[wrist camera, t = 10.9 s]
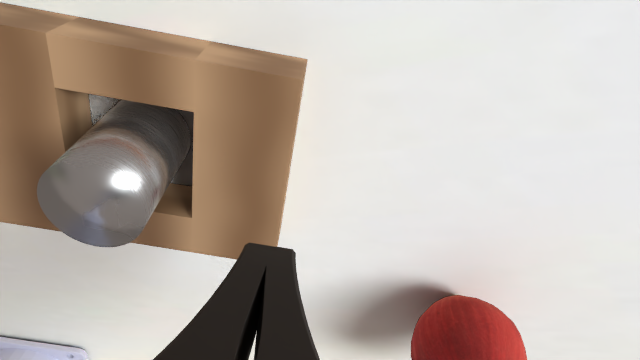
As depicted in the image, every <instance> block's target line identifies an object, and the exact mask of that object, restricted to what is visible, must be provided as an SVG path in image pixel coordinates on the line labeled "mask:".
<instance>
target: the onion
mask: <svg viewBox="0 0 640 360" xmlns="http://www.w3.org/2000/svg"><path fill="white" fill-rule="evenodd" d="M411 358H412V360H527V356H526V351H525V347H524V344H523V341H522V338H521V335H520V333H519V331H518V330H517V328H516V326H515V324H514V323H513V322H512V321H511V320H510V319H509V318H508V317H507V316H506V315H505V314H504V313H503V312H502V311H500V310H499V309H498V308H496V307H495V306H493V305H492V304H489V303H487V302H485V301H482V300H480V299H477V298H472V297H466V296H461V295H455V296H448V297H444V298H442V299H440V300H438V301H436V302H434V303H433V304H432V305H431V306H430V307H429V308H428V309H427V310H426V311H425V312H424V313H423V315H422V316H421V317H420V318H419V320H418V322H417V324H416V326H415V329H414V333H413V337H412V340H411Z"/></svg>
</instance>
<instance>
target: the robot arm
mask: <svg viewBox="0 0 640 360" xmlns="http://www.w3.org/2000/svg"><path fill="white" fill-rule="evenodd" d="M295 256H296V253H295V252H294V251H293V249H287V248H281V247H274V246H268V245H262V244H256V243H250V242H249V243H247V244H246V245H245V246H244V248H243V250H242V252H241V254H240V256H239V258H238V259H237V261H236V263H235V264H234V266H233V267H232V269H231V270H230V272H229V273H228V275H227V276H226V278H225V279H224V280H223V282H222V283H221V285H220V286H219V287H218V289H217V290H216V291H215V293H214V294H213V295H212V297H211V298H210V299H209V300H208V302H207V303H206V304H205V305H204V306H203V308H202V309H201V310H200V311H199V312H198V313H197V315H196V316H195V317H194V318H193V319H192V321H191V322H190V323H189V324H188V325H187V326H186V327H185V328H184V329H183V330H182V331H181V332H180V334H179V335H178V336H177V337H176V338H175V339H174V340H173V341H172V342H171V343H170V344H169V345H168V346H167V347H166V348H165V349H164V350H163V351H162V352H161V353H159V354H158V355H157V356H156V357H155V358H154V359H153V360H248V359H249V355H250V352H251V349H252V345H253V342H254V338H255V335H256V345H255V355H254V360H320V359H319V356H318V353H317V351H316V348H315V345H314V342H313V339H312V336H311V333H310V330H309V327H308V323H307V320H306V316H305V312H304V308H303V304H302V300H301V296H300V291H299V286H298V280H297V273H296V261H295ZM256 331H257V334H256ZM0 360H88V357H87V353H86V351H85V350H83V349H80V348H75V347H68V346H61V345H54V344H47V343H40V342H33V341H26V340H19V339H12V338H5V337H0Z"/></svg>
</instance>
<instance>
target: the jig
mask: <svg viewBox="0 0 640 360" xmlns="http://www.w3.org/2000/svg"><path fill="white" fill-rule="evenodd" d="M306 66H307V59H302V58H297V57H292V56H286V55H281V54H275V53H270V52H265V51H259V50H254V49H248V48H243V47H238V46H232V45H227V44H221V43H216V42H211V41H205V40H200V39H194V38H189V37H184V36H178V35H173V34H167V33H162V32H157V31H151V30H146V29H141V28H135V27H130V26H124V25H119V24H114V23H108V22H103V21H97V20H92V19H87V18H81V17H76V16H70V15H65V14H60V13H54V12H49V11H43V10H38V9H33V8H27V7H22V6H16V5H11V4H6V3H0V222H5V223H11V224H17V225H24V226H30V227H36V228H43V229H49V230H55V231H61V230H59V229H58V228H57V227H56V226H55V225H54V224H52V223H51V221H50V220H49V219H48V218H47V217H46V215H45V214H44V212H43V210H42V209H41V207H40V204H39V201H38V197H37V185H38V182H39V179H40V177H41V176H42V174H43V173H44V172H45V171H46V170H47V169H48V168H49V167H50V166H51V165H52V164H53V163H54V162H55V161H56V160H58V159H59V158H60V157H61V156H62V155H63V154H64V153H65V152H66V151H67V150H68V149H69V148H70V147H71V146H72V145H73V144H74V143H76V142H77V141H78V140H79V139H80V138H81V137H82V136H83V135H84V134H85V133H86V132H87V131H88V130H89V129H90V128H91V127H92V120H91V112H90V104H89V96H88V94H94V95H99V96H105V97H111V98H117V99H122V100H128V101H134V102H139V103H145V104H151V105H156V106H162V107H168V108H173V109H179V110H185V111H190V112H194V127H193V183H192V187H191V186H185V185H179V184H173V183H170V184H169V186H168V188H167V189H166V191H165V193H164V195H163V196H162V198H161V200H160V201H159V203H158V205H157V207H156V208H155V210H154V212H153V213H152V215H151V217H150V218H149V220H148V222H147V224H146V225H145V227H144V229H143V230H142V232H141V233H140V235H139V236H138V237H137V238H136V239H134V240H133V241H131V243H137V244H144V245H150V246H156V247H162V248H169V249H175V250H181V251H188V252H194V253H200V254H207V255H213V256H219V257H226V258H232V259H238V258H239V256H240V254H241V252H242V250H243V248H244V246H245V245H246V244H247V243H249V242H250V243H256V244H262V245H268V246H274V247H277V245H278V240H279V234H280V228H281V222H282V216H283V209H284V203H285V197H286V191H287V184H288V178H289V172H290V166H291V159H292V153H293V147H294V141H295V134H296V128H297V122H298V116H299V109H300V103H301V97H302V91H303V84H304V78H305V72H306Z"/></svg>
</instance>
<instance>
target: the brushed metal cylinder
mask: <svg viewBox="0 0 640 360" xmlns="http://www.w3.org/2000/svg"><path fill="white" fill-rule="evenodd" d="M190 145H191V136H190V131H189V128H188V126H187V123H186V122H185V120H184V118H183V117H182V116H181V114H180V113H179V112H178V111H177V110H176V109H173V108H168V107H162V106H156V105H151V104H145V103H139V102H134V101H128V100H121V101H119V102H118V103H117V104H116V105H115V106H114V107H113V108H112V109H110V110H109V111H108V112H107V113H106V114H105V115H104V116H103V117H102V118H101V119H100V120H99V121H98V122H97V123H96V124H95V125H94V126H92V127H91V128H90V129H89V130H88V131H87V132H86V133H85V134H84V135H83V136H82V137H81V138H80V139H79V140H78V141H77V142H76V143H74V144H73V145H72V146H71V147H70V148H69V149H68V150H67V151H66V152H65V153H64V154H63V155H62V156H61V157H60V158H59V159H58V160H56V161H55V162H54V163H53V164H52V165H51V166H50V167H49V168H48V169H47V170H46V171H45V172H44V173H43V174H42V176H41V177H40V179H39V182H38V185H37V197H38V201H39V204H40V207H41V209H42V210H43V212H44V214H45V215H46V217H47V218H48V219H49V220H50V221H51V223H52V224H54V225H55V226H56V227H57V228H58V229H59V230H61V231H62V232H63V233H65V234H66V235H68V236H70V237H72V238H73V239H75V240H78V241H80V242H83V243H86V244H89V245H93V246H99V247H116V246H121V245H125V244H127V243H130V242H131V241H133V240H134V239H136V238H137V237H138V236H139V235H140V233H141V232H142V230H143V229H144V227H145V225H146V224H147V222H148V220H149V218H150V217H151V215H152V213H153V212H154V210H155V208H156V207H157V205H158V203H159V201H160V200H161V198H162V196H163V195H164V193H165V191H166V189H167V188H168V186H169V184H170V183H171V181H172V179H173V178H174V176H175V174H176V172H177V171H178V169H179V167H180V166H181V164H182V162H183V160H184V159H185V157H186V155H187V154H188V152H189V149H190Z"/></svg>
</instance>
